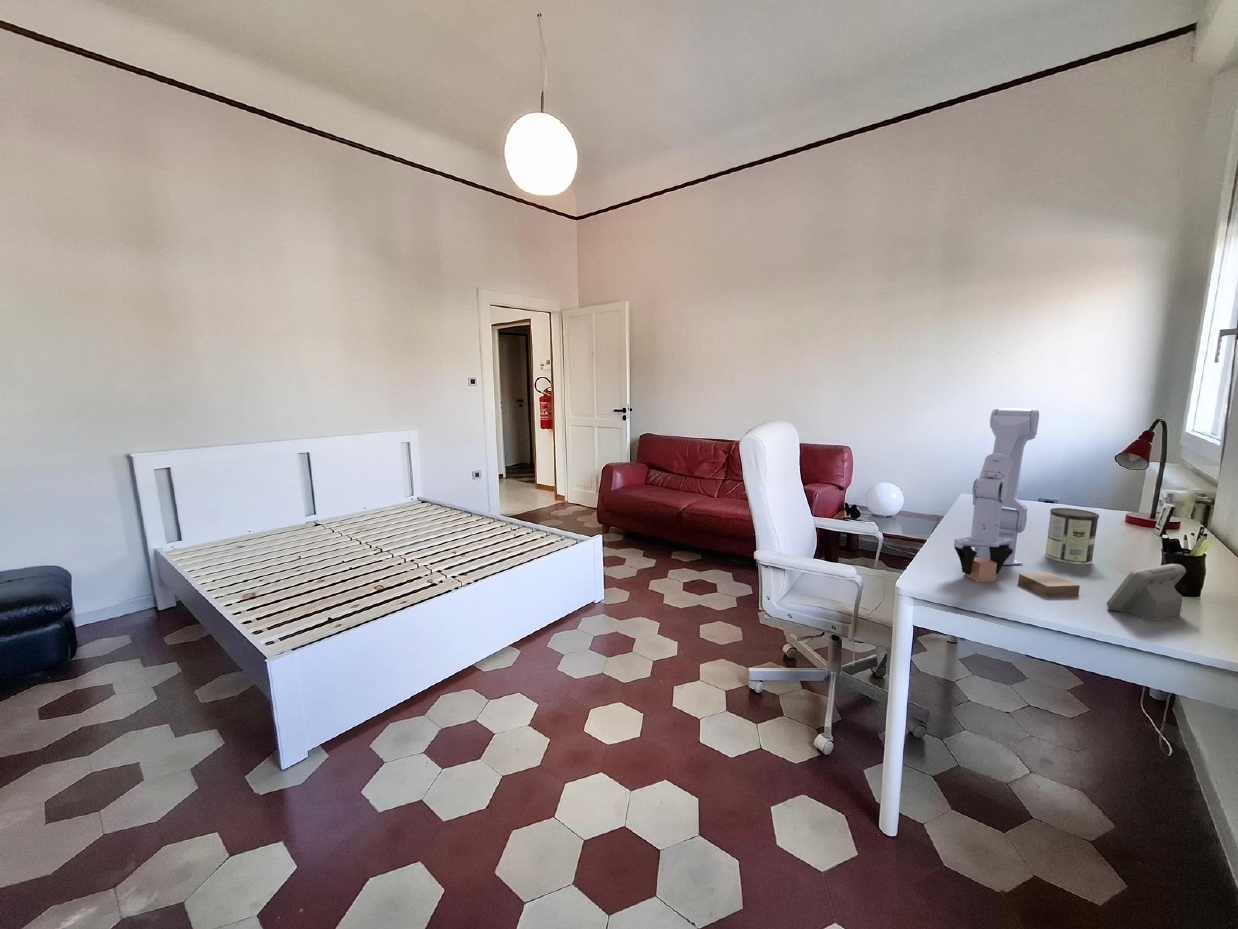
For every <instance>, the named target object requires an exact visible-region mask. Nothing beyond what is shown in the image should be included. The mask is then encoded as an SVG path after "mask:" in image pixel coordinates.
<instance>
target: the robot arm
mask: <svg viewBox="0 0 1238 929" xmlns="http://www.w3.org/2000/svg"><path fill="white" fill-rule="evenodd" d="M1039 422H1040V412H1039V410H1038V409H1037V408H999V407H995V408H993V410H992V411H991V413H990V420H989V426H990V429H991V431H992V433H993V436H994V438H995V440H994V444H993V449H992V450H993V451H992V453H991V454H989V455H987V456H986V457H985V459H984V462H983V465H982V468H981V471H980V474H979V477H978V478H975V479H974V481H973V485H972V505H973V515H972V521H971V522H972V523H971V530H970V531H971V533H970V536H967V537H961V538H954V540H953V541H954V543H953V547H954V548H953V549H954V550H955V551H956V554H957V556H958V558H959V562H960V565H961V566H960V567H961V571H962V573H964V574H965V573H966V574H968V575H970V574H971V572H972V565H973V561H974V558H975V557H984V558H987V559H989V560H991V561H993V562H996V563H997V567H996V575H999V573H1000V571H1001V569H1002V568H1003V565H1004V566H1007V565H1008V566H1009V565H1023V562H1022V561H1019V560H1017V559H1015V555H1016V549H1017V548H1016V547H1017V541H1018V534H1019V533H1020V534H1021V533H1022V532H1024V531H1025V528H1026V525H1027V520H1028V519H1027V518H1028V517H1027V516H1028V515H1027V512H1028V507H1027V506H1026V505H1025V504H1024V503H1023V502H1022V501H1020V500H1019V499H1018V498H1017V494H1018V488H1019V481H1020V475H1021V468H1022V461H1023V456H1024V455H1023V454H1024V449H1025V446H1026V444H1027V442H1028V441H1031V440H1034V439H1035V438H1036V436H1037V432H1038V426H1039ZM1003 507H1004V508H1003ZM973 548H974V550H973Z"/></svg>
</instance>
